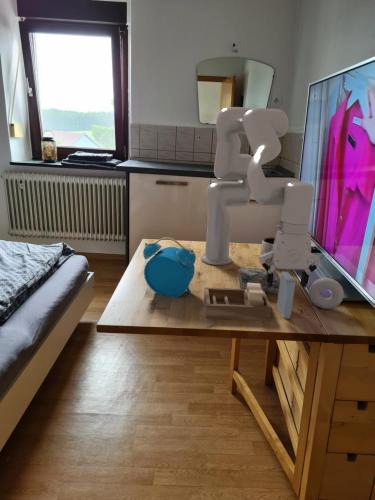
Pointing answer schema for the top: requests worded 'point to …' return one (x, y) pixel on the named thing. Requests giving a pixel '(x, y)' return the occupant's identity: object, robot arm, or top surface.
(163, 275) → the alarm clock
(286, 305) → the light blue flat box
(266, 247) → the planter
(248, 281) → the rock
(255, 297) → the offcut top
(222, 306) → the rack
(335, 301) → the tape roll
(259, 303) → the block
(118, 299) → the top surface
